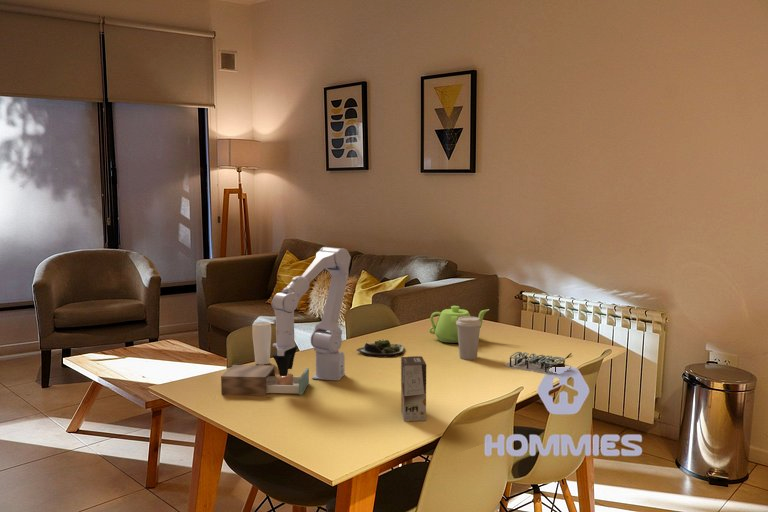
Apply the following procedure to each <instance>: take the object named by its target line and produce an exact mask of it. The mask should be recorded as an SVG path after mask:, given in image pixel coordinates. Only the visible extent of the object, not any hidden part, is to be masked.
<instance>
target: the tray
mask: <svg viewBox="0 0 768 512" xmlns="http://www.w3.org/2000/svg"><path fill="white" fill-rule="evenodd" d="M309 371H310V368H309V367H306V368H305V369H304V371H303V372H302V374H301V375H300V376H294V375H293V385H278V384H277V376H278V375H275V376H268V377H267V378H266V390H267V394H298V395H299V396H302V395H303V394H304V391H305V390H306V388H307V387H308V385H309V383H310V372H309Z"/></svg>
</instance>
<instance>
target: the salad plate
mask: <svg viewBox="0 0 768 512" xmlns="http://www.w3.org/2000/svg"><path fill="white" fill-rule="evenodd" d="M404 349H405V346H404V345H403V344H401V343H391V342H390V340H388V339H386V340H385V339H382V340H381V339H379V340H376V341H374V342H373V343H372V342H371V343H367V342H366V343H365V344H364V345H363V346H362V347H359V348H357V349H356V352H359V353H361V354H362V355H364V356H366V357H378V358H393V357H398V356H401V354H403V352H404Z"/></svg>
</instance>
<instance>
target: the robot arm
mask: <svg viewBox="0 0 768 512" xmlns="http://www.w3.org/2000/svg"><path fill="white" fill-rule="evenodd" d="M351 259H352V257H351V254H350V253H349V250H348V249H346V248H343V247H342V248H341V247H340V248H339V247H329V246H323V247H321V248H320V249H319V250H318V251H317V252H316V253H315V258H314V260H313V261H312V262H311V263H310V265H309V266H308V267H307V268H306V269H305V271H303V273H302V274H301V275H297V276H294V277H292V279H291V281H290V282H289V283H288V284H287V286H286V287H284V288H283V289H282V291H280V292H277V293H276V294H275V295H274V296H273V298H272V301H271V302H270V305H271V307H272V309H273V311H274V312H273V313H274V315H275V337H276V338H275V340H276V342H274V343H272V347H273V348H274V347H275V348H276V352H275V353H273V354H272V358H273V360H274V361H275V363H276V366H277V370H278V375H280V376H287V374H289V373H288V372H289V370H292V369H293V365H294V360H295V356H296V352H297V349H298V345H296V341H295V312H294V311H295V310H296V309H297V308H298V307H299V306H298V305H299V301H300V300H301V298H302V297H303V296H304V295H305V294H306V293H307V292H308V290H309V289H310V283H311V282H312V281H313V280H314V279H315V278H316V277H317V276H318V275H319V274H320V273H322V272H323V271H324V270H326V271H327V272H329V274H330V276H331V278H330V282H329V287H328V291H327V296H326V300H325V305H324V310H323V314H322V319H321V321H320V322H319V323H317V324H316V325H315V326H314V330H313V332H312V333H311V336H310V344H311V347H313V350H314V351H315V373H314V375H313V376H312V377H311V379H312V380H323V381H326V380H327V381H335V382H336V381H340V380H341V379H342V378H343V377H344V376H345V375H346V372H345V370H346V369H345V354H344V352H343V351H342V352H341V351H339V350H340V348H341V347H342V343H343V338H342V335H343V330H342V329H341V327H340V326H339V319H340V315H341V311H342V306H343V302H344V296H345V292H346V288H347V283H348V279H349V272H350V270H349V269H350V265H351Z"/></svg>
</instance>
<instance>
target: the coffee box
mask: <svg viewBox="0 0 768 512" xmlns="http://www.w3.org/2000/svg"><path fill="white" fill-rule="evenodd" d="M400 369H401V370H400V383H401V385H400V386H401V390H400V397H401V398H400V407H401V408H400V409H401V410H400V411H401V415H402V419H403V421H404V422H421V421H422V422H425V421H426V420H427V363H426V362H425V360H424V358H423V356H420V355H417V356H413V355H412V356H401V357H400Z"/></svg>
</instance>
